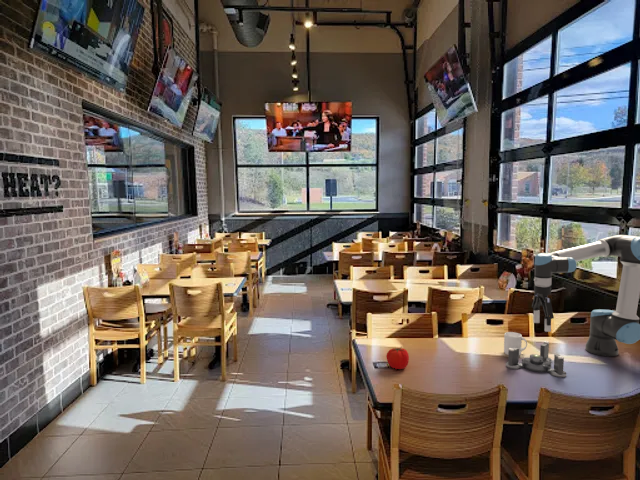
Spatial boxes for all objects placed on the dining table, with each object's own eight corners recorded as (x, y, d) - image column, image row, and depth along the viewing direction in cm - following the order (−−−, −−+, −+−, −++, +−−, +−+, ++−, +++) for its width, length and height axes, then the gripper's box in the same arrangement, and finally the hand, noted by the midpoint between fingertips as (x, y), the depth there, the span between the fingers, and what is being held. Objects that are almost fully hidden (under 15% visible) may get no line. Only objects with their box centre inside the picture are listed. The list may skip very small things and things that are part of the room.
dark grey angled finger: (514, 361, 221) (515, 346, 220) (518, 362, 219) (519, 347, 218) (507, 364, 217) (508, 348, 216) (511, 365, 216) (512, 349, 215)
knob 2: (544, 360, 222) (544, 344, 221) (539, 359, 223) (540, 343, 222) (548, 357, 226) (549, 341, 225) (544, 355, 227) (544, 340, 226)
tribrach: (548, 358, 228) (548, 347, 227) (568, 377, 204) (569, 365, 204) (499, 357, 230) (499, 346, 230) (514, 376, 207) (514, 364, 206)
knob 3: (553, 368, 211) (554, 352, 210) (558, 369, 211) (559, 352, 210) (558, 374, 205) (559, 357, 204) (563, 374, 205) (564, 357, 204)
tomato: (410, 363, 224) (410, 344, 223) (407, 373, 212) (407, 353, 211) (388, 361, 227) (388, 342, 226) (384, 371, 215) (384, 351, 214)
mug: (530, 356, 231) (531, 337, 230) (507, 356, 231) (508, 337, 230) (523, 350, 239) (523, 331, 238) (501, 350, 240) (501, 332, 239)
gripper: (525, 280, 227) (524, 319, 230) (545, 291, 203) (544, 335, 205) (540, 280, 227) (539, 319, 229) (562, 291, 202) (561, 335, 204)
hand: (541, 326), depth 217 cm, fingers open, 13 cm apart
